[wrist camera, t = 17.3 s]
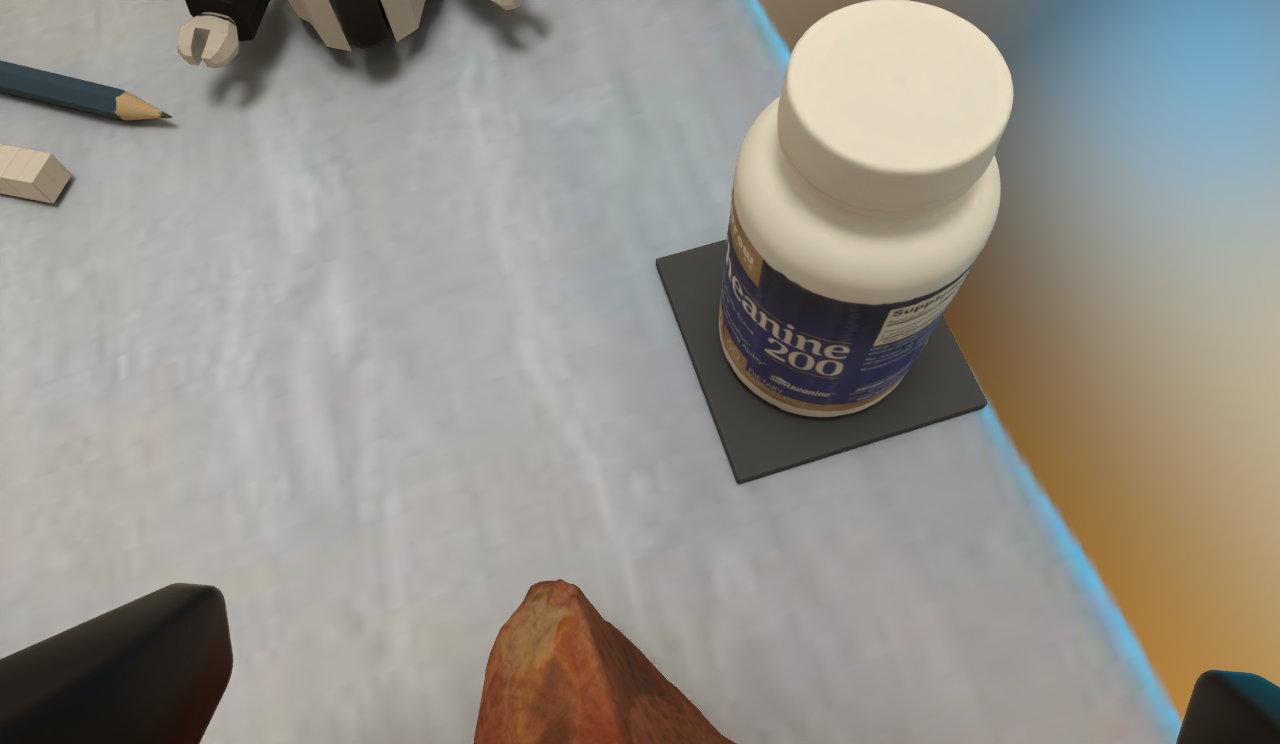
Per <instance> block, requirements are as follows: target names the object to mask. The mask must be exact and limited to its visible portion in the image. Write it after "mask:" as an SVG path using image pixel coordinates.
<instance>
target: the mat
mask: <svg viewBox="0 0 1280 744" xmlns="http://www.w3.org/2000/svg"><path fill="white" fill-rule="evenodd" d="M725 253H726V240H722V241H719V242H715V243H712V244H708V245H705V246H701V247H698V248H694V249H691V250H687V251H683V252H680V253H676V254H673V255H669V256H666V257H662V258H659V259H656V266H657V269H658V272H659V274H660V277H661V280H662V282H663V285H664V288H665V290H666V293H667V296H668V298H669V301H670V304H671V306H672V309H673V312H674V314H675V317H676V320H677V322H678V325H679V328H680V330H681V333H682V336H683V338H684V341H685V344H686V346H687V349H688V352H689V354H690V357H691V360H692V363H693V365H694V368H695V371H696V373H697V376H698V379H699V381H700V384H701V387H702V389H703V392H704V395H705V397H706V400H707V403H708V405H709V408H710V411H711V413H712V416H713V419H714V421H715V424H716V427H717V429H718V432H719V435H720V437H721V440H722V443H723V446H724V448H725V451H726V454H727V456H728V459H729V462H730V464H731V467H732V470H733V472H734V475H735V478H736V480H737V483H738V484H740V483H743V482H746V481H749V480H752V479H756V478H759V477H762V476H765V475H768V474H772V473H775V472H778V471H781V470H784V469H788V468H791V467H794V466H797V465H800V464H804V463H807V462H810V461H813V460H817V459H820V458H823V457H826V456H829V455H833V454H836V453H839V452H842V451H845V450H849V449H852V448H855V447H858V446H861V445H865V444H868V443H871V442H874V441H877V440H881V439H884V438H887V437H890V436H894V435H897V434H900V433H903V432H906V431H910V430H913V429H916V428H919V427H922V426H926V425H929V424H932V423H935V422H938V421H942V420H945V419H948V418H951V417H954V416H958V415H961V414H964V413H967V412H971V411H974V410H977V409H980V408H983V407H985V406H986V404H987V401H986V399H985V397H984V395H983V393H982V391H981V389H980V387H979V385H978V383H977V382H976V380H975V378H974V376H973V374H972V372H971V370H970V368H969V366H968V364H967V362H966V360H965V358H964V357H963V355H962V353H961V351H960V349H959V347H958V345H957V343H956V341H955V339H954V337H953V335H952V333H951V331H950V330H949V328H948V326H947V324H946V322H945V320H944V318H943V316H942V317H941V319H940V320H939V322H938V323H937V325H936V327H935V328H934V330H933V332H932V333H931V335H930V337H929V338H928V340H927V343H926V344H925V346H924V347H923V349H922V351H921V352H920V353H919V355H918V357H917V358H916V360H915V361H914V363H913V364H912V366H911V367H910V368H909V370H908V371H907V373H906V374H905V376H904V377H903V378H902V380H901V381H900V383H899V384H898V385H897V386H896V387H895V388H894V389H893V390H892V391H891V392H890V393H889V394H888V395H886V396H885V397H884V398H882V399H881V400H880V401H878V402H877V403H875V404H873V405H871V406H869V407H867V408H866V409H863V410H860V411H858V412H855V413H851V414H846V415H840V416H834V417H812V416H804V415H798V414H795V413H791V412H787V411H784V410H782V409H780V408H779V407H777V406H775V405H773V404H771V403H769V402H767V401H765V400H764V399H762V398H761V397H759V396H758V395H756V394H755V393H754V392H753V391H751V390H750V389H749V388H748V387H747V386H746V385H745V384H744V383H743V382H742V381H741V380H740V378H739V377H738V376H737V375H736V373H735V371H734V370H733V368H732V366H731V365H730V363H729V361H728V360H727V358H726V356H725V353H724V350H723V347H722V343H721V340H720V332H719V307H720V298H721V290H722V281H723V269H724V262H725Z"/></svg>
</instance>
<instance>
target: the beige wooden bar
mask: <svg viewBox="0 0 1280 744" xmlns="http://www.w3.org/2000/svg"><path fill="white" fill-rule="evenodd" d="M71 176H72V174H71V173H70V172H69V171H68V170H67V169H66V168H65V167H64V166H63V165H62V164H61V163H60V162H59V161H58V160H57V159H56V158H55V157H54V156H53V155H52V154H51V153H46V152H40V151H35V150H30V149H24V148H19V147H14V146H8V145H3V144H0V193H1V194H6V195H12V196H17V197H22V198H27V199H32V200H37V201H42V202H47V203H53V204H54V202H55V201H56V199H57V197H58V196H59V194H60V193H61V191H62V190H63V188H64V186H65V185H66V183H67V182H68V180H69V179H70V177H71Z"/></svg>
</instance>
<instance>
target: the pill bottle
mask: <svg viewBox="0 0 1280 744" xmlns="http://www.w3.org/2000/svg"><path fill="white" fill-rule="evenodd" d="M1013 94H1014V92H1013V84H1012V79H1011V75H1010V72H1009V69H1008V67H1007V65H1006V62H1005V61H1004V59H1003V57H1002V55H1001V53H1000V52H999V51H998V49H997V47H996V46H995V45H994V44H993V42H992V41H990V40H989V38H988V37H987V36H986V35H985V34H984V33H982V32H981V31H980V30H979V29H977V28H976V27H975V26H974V25H972V24H971V23H969V22H968V21H966V20H964V19H962V18H960V17H959V16H957V15H955V14H953V13H951V12H948V11H946V10H944V9H941V8H938V7H935V6H932V5H928V4H924V3H919V2H913V1H908V0H873V1H865V2H862V3H857V4H853V5H849V6H847V7H844V8H842V9H839V10H837V11H834V12H832V13H830V14H828V15H827V16H825V17H824V18H822V19H820V20H819V21H817V22H816V23H815V24H814V25H812V26H811V27H810V28H809V29H808V30H807V31H806V32H805V33H804V35H803V36H802V37H801V39H800V40H799V41H798V43H797V44H796V46H795V48H794V50H793V52H792V54H791V56H790V59H789V62H788V66H787V70H786V74H785V79H784V83H783V87H782V92H781V96H779V97H778V98H777V99H775V100H774V101H773V102H772V103H771V104H770V105H769V106H768V107H767V108H766V109H765V110H764V111H763V112H762V113H761V114H760V115H759V116H758V118H757V119H756V120H755V122H754V123H753V124H752V126H751V128H750V129H749V131H748V133H747V135H746V137H745V139H744V141H743V144H742V146H741V149H740V152H739V155H738V159H737V164H736V168H735V175H734V183H733V190H732V202H731V212H730V220H729V226H728V232H727V237H726V253H725V262H724V269H723V281H722V290H721V298H720V307H719V332H720V340H721V343H722V347H723V350H724V353H725V356H726V358H727V360H728V361H729V363H730V365H731V366H732V368H733V370H734V371H735V373H736V375H737V376H738V377H739V378H740V380H741V381H742V382H743V383H744V384H745V385H746V386H747V387H748V388H749V389H750V390H751V391H753V392H754V393H755V394H756V395H758V396H759V397H761V398H762V399H764V400H765V401H767V402H769V403H771V404H773V405H775V406H777V407H779V408H780V409H782V410H784V411H787V412H791V413H795V414H798V415H804V416H812V417H834V416H840V415H846V414H851V413H855V412H858V411H860V410H863V409H866V408H867V407H869V406H871V405H873V404H875V403H877V402H878V401H880V400H881V399H882V398H884V397H885V396H886V395H888V394H889V393H890V392H891V391H892V390H893V389H894V388H895V387H896V386H897V385H898V384H899V383H900V381H901V380H902V378H903V377H904V376H905V374H906V373H907V371H908V370H909V368H910V367H911V366H912V364H913V363H914V361H915V360H916V358H917V357H918V355H919V353H920V352H921V351H922V349H923V347H924V346H925V344H926V343H927V340H928V338H929V337H930V335H931V333H932V332H933V330H934V328H935V327H936V325H937V323H938V322H939V320H940V319H941V317H942V315H943V314H944V312H945V310H946V309H947V307H948V305H949V304H950V302H951V300H952V299H953V297H954V296H955V294H956V292H957V291H958V289H959V287H960V286H961V284H962V282H963V280H964V279H965V277H966V275H967V274H968V272H969V271H970V269H971V267H972V266H973V264H974V263H975V261H976V259H977V257H978V256H979V254H980V253H981V251H982V249H983V247H984V246H985V244H986V242H987V240H988V237H989V235H990V233H991V231H992V229H993V227H994V223H995V221H996V218H997V214H998V210H999V203H1000V190H1001V189H1000V188H1001V184H1000V175H999V169H998V165H997V162H996V158H995V152H996V148H997V145H998V143H999V140H1000V138H1001V136H1002V134H1003V132H1004V129H1005V127H1006V125H1007V122H1008V120H1009V116H1010V113H1011V110H1012V104H1013Z"/></svg>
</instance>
